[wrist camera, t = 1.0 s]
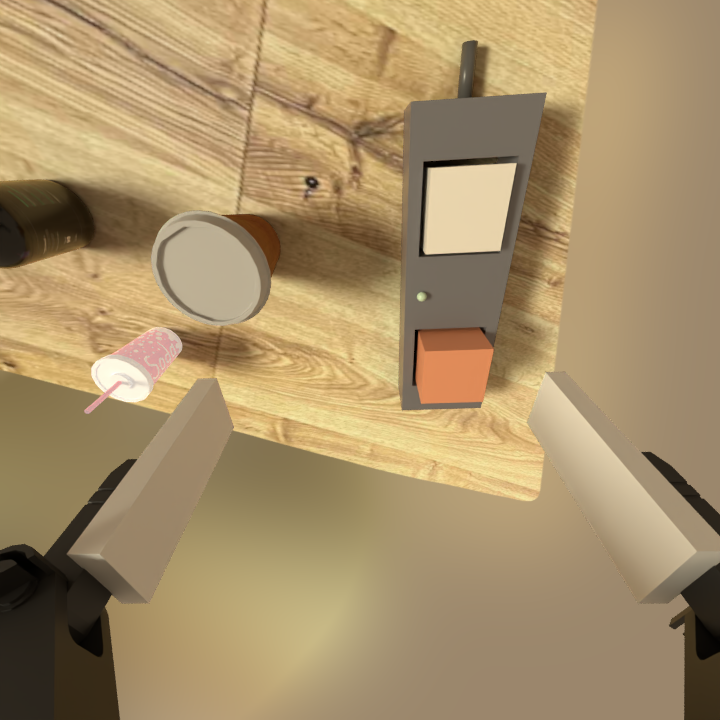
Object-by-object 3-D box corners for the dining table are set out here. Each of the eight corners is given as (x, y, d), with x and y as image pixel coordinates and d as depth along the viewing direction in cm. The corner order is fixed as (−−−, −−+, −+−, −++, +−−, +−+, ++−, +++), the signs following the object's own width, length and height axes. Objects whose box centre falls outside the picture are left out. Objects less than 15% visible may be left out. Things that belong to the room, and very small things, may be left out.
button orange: (417, 329, 36) (424, 351, 32) (478, 326, 36) (493, 349, 32) (415, 378, 40) (421, 403, 36) (470, 376, 40) (482, 401, 35)
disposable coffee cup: (291, 199, 32) (257, 215, 22) (297, 286, 38) (272, 332, 28) (200, 195, 32) (125, 210, 22) (219, 283, 38) (165, 328, 27)
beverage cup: (189, 364, 44) (125, 438, 32) (144, 356, 43) (61, 428, 32) (186, 327, 41) (114, 394, 29) (137, 317, 40) (42, 381, 28)
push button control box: (405, 50, 26) (414, 24, 21) (530, 41, 26) (568, 13, 21) (398, 387, 46) (402, 414, 41) (469, 384, 45) (482, 411, 40)
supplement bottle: (85, 260, 36) (-23, 298, 26) (19, 216, 34) (-128, 239, 24) (106, 213, 34) (-6, 235, 23) (36, 162, 31) (-123, 162, 21)
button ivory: (421, 167, 30) (430, 168, 26) (495, 162, 30) (516, 163, 25) (418, 242, 34) (425, 254, 29) (483, 239, 33) (500, 250, 29)
